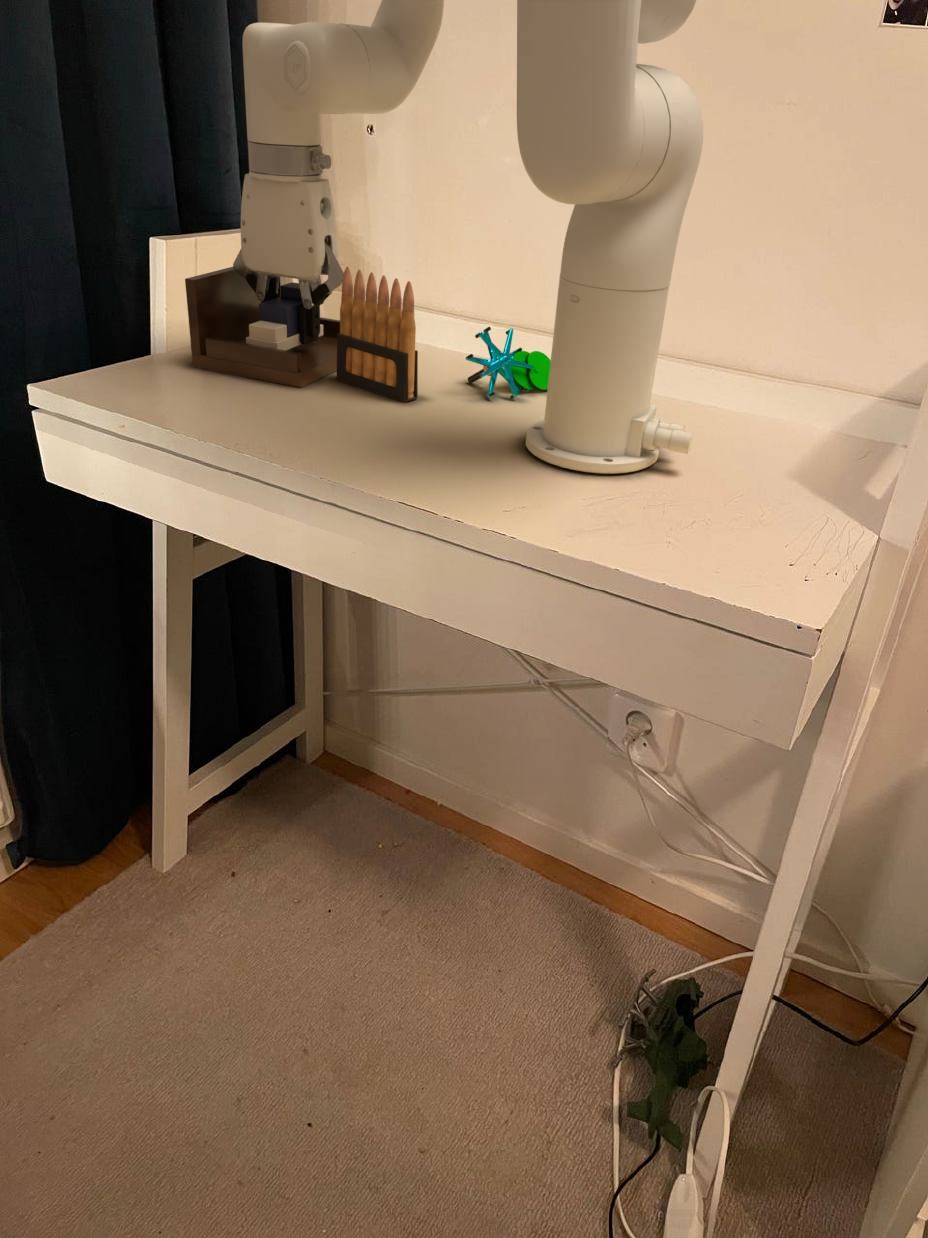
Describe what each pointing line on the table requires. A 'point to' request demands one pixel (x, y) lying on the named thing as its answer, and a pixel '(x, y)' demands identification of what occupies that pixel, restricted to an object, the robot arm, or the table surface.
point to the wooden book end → (223, 326)
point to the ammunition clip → (377, 338)
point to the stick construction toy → (512, 366)
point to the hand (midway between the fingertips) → (291, 336)
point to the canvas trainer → (279, 320)
